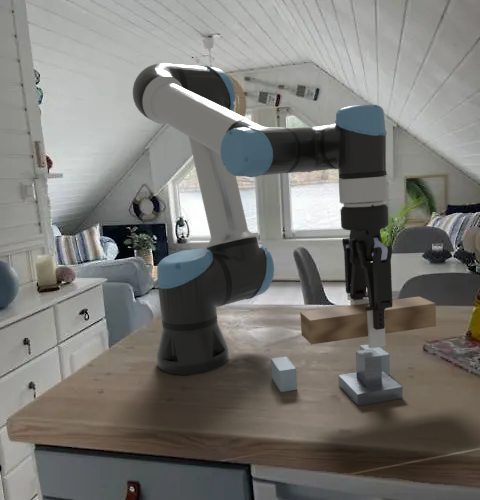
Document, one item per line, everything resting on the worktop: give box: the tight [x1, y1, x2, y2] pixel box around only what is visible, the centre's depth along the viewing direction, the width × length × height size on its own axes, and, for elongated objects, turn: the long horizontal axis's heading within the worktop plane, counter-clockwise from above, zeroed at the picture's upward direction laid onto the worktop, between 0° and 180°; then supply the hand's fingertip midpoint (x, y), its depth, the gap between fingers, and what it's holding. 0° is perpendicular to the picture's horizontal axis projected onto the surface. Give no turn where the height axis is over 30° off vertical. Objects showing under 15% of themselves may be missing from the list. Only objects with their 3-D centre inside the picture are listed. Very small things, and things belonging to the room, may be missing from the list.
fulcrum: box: [338, 349, 404, 407], centre depth 84 cm, size 8×8×7 cm
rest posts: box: [270, 344, 391, 393], centre depth 92 cm, size 21×6×4 cm, turn 101°
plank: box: [300, 296, 437, 346], centre depth 82 cm, size 22×5×4 cm, turn 101°
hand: (369, 340), depth 83 cm, fingers closed on plank, 5 cm apart
